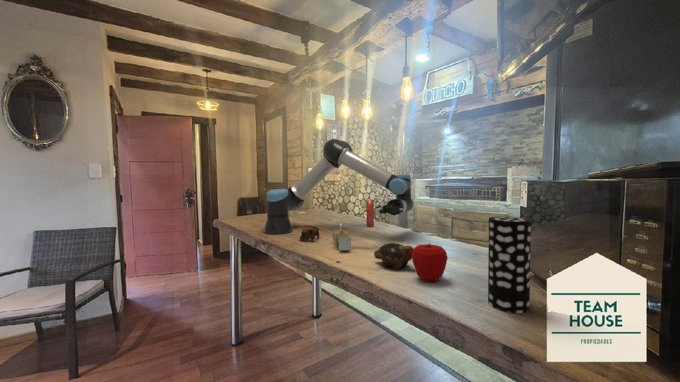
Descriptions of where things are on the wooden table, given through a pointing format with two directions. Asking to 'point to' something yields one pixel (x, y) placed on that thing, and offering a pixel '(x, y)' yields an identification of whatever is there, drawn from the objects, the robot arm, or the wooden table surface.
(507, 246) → the spotted tube
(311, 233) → the brown animal figurine
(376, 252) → the decorative turtle
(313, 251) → the wooden table surface
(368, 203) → the lever
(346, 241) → the pipe valve
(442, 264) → the apple
